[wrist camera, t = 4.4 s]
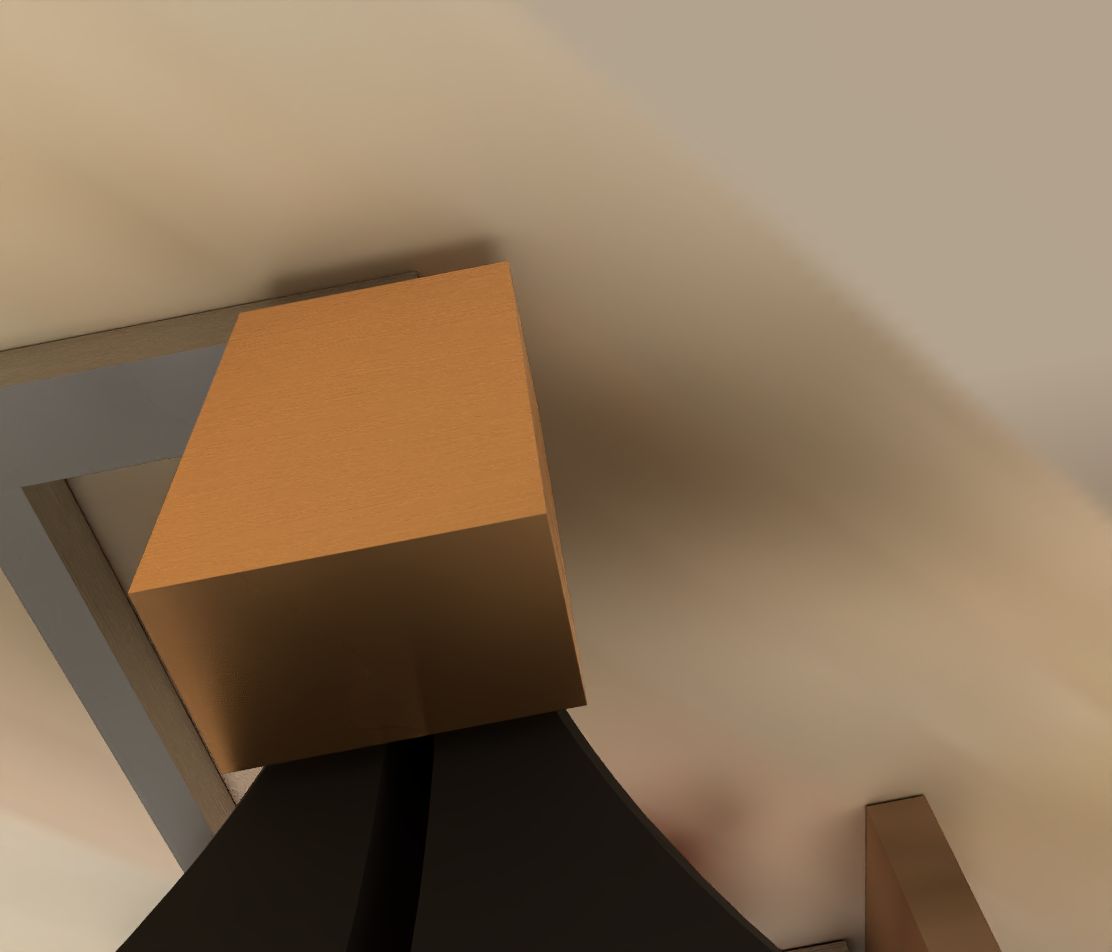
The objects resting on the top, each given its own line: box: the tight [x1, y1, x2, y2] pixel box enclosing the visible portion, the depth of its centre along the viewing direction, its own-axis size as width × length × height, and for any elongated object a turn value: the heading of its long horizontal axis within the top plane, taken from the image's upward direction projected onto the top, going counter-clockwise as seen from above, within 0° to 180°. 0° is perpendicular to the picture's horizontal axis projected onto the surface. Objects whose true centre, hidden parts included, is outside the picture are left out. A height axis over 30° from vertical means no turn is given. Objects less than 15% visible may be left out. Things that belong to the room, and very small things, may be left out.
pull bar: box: [0, 261, 849, 952], centre depth 13 cm, size 16×10×6 cm, turn 9°
